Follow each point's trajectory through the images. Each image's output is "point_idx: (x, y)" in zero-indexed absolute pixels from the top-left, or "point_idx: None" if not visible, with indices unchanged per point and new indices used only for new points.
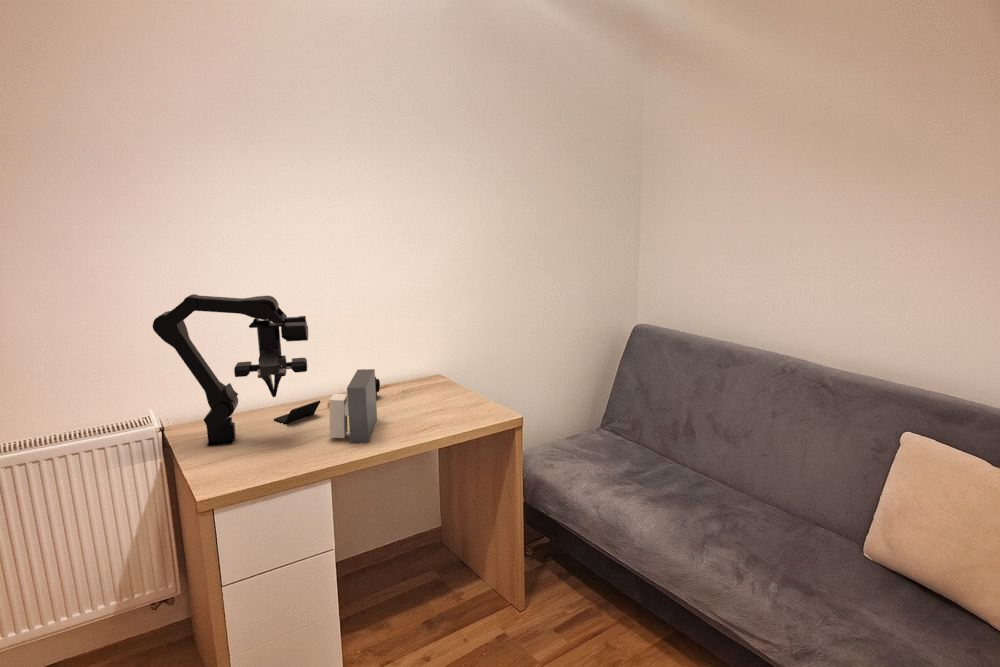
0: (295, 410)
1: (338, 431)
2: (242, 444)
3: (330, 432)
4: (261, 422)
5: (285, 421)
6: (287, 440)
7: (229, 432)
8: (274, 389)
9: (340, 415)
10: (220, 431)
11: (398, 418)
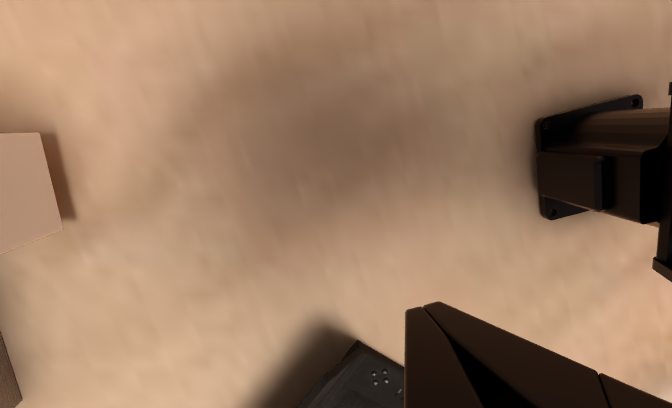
0: (310, 394)
1: None
2: (488, 119)
3: (3, 133)
4: None
5: (361, 351)
6: (292, 161)
7: (586, 144)
8: (451, 364)
9: None
10: (642, 112)
11: None
